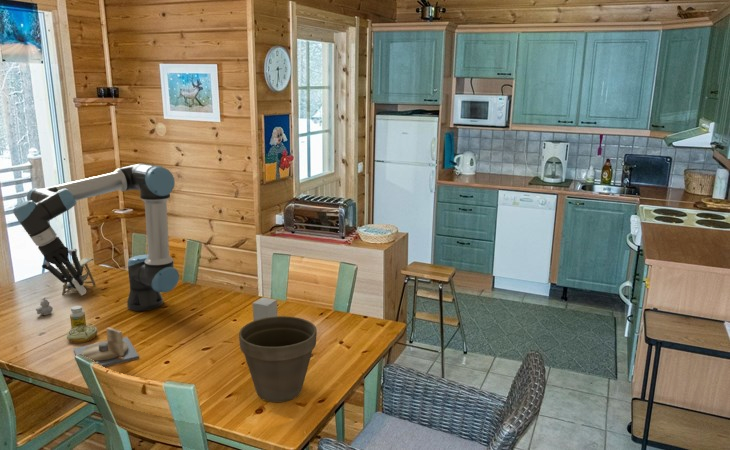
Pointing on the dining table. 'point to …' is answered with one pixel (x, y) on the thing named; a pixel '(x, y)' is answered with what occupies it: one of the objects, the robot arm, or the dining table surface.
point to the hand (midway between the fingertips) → (84, 293)
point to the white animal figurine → (44, 307)
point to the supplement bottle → (77, 317)
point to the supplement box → (264, 308)
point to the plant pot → (278, 355)
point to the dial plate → (127, 356)
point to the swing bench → (84, 277)
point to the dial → (107, 347)
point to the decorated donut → (82, 334)
